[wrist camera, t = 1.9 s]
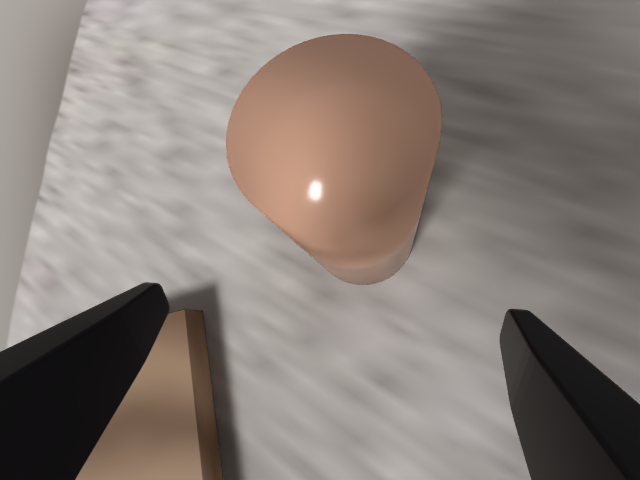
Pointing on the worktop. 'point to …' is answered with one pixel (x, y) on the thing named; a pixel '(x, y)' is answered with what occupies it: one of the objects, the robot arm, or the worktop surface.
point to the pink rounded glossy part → (339, 150)
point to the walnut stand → (164, 414)
